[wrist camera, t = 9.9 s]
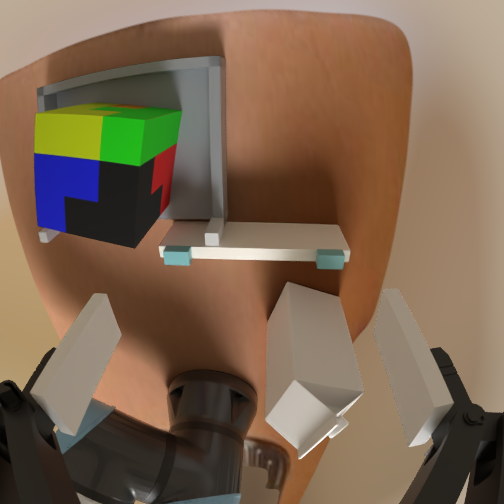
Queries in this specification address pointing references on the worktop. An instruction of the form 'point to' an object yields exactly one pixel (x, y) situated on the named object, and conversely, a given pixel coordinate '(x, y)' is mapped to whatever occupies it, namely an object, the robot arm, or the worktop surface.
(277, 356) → the milk carton
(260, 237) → the cover panel
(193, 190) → the grey tray
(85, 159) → the puzzle toy
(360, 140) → the worktop surface
